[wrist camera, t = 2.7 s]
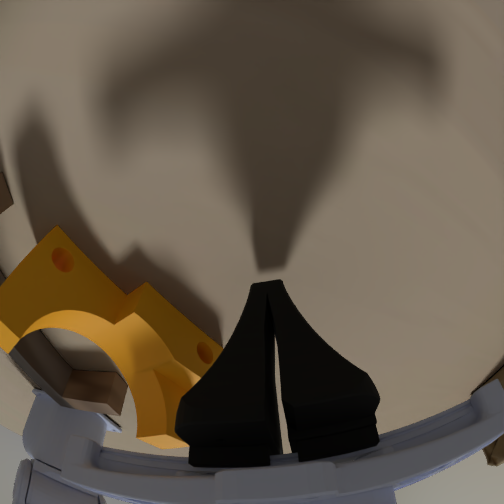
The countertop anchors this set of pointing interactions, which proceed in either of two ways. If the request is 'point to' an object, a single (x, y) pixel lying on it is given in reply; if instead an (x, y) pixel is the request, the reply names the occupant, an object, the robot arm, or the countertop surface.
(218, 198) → the countertop surface
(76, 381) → the dark brown long trough
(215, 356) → the yellow bracket
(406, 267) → the countertop surface
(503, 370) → the paper package
